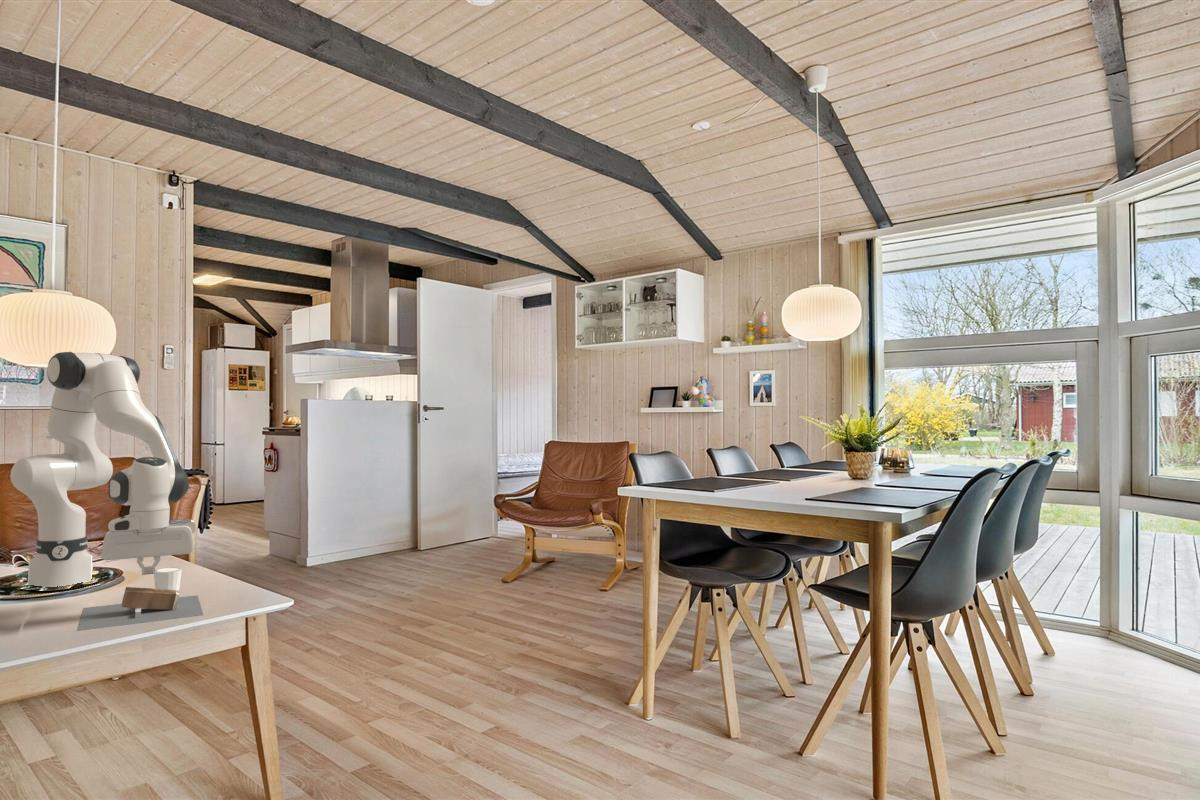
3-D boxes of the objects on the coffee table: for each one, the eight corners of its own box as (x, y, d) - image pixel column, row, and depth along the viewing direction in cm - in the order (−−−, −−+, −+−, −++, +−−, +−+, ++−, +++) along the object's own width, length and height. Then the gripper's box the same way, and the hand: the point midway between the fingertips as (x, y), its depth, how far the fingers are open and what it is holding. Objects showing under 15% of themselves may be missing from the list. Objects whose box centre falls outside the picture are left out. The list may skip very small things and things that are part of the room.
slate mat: (83, 610, 185) (83, 602, 185) (197, 597, 199) (197, 589, 199) (77, 633, 167) (77, 624, 167) (203, 617, 181) (203, 609, 181)
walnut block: (126, 586, 183) (178, 590, 189) (122, 602, 183) (175, 605, 189) (125, 591, 179) (179, 594, 185) (121, 607, 178) (175, 609, 185)
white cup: (168, 598, 198) (168, 573, 198) (147, 596, 199) (147, 571, 200) (186, 592, 205) (187, 567, 205) (166, 590, 206) (167, 566, 206)
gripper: (194, 516, 192) (193, 567, 192) (102, 521, 181) (101, 575, 181) (196, 519, 187) (195, 572, 187) (101, 525, 176) (100, 581, 175)
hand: (148, 574), depth 184 cm, fingers closed
